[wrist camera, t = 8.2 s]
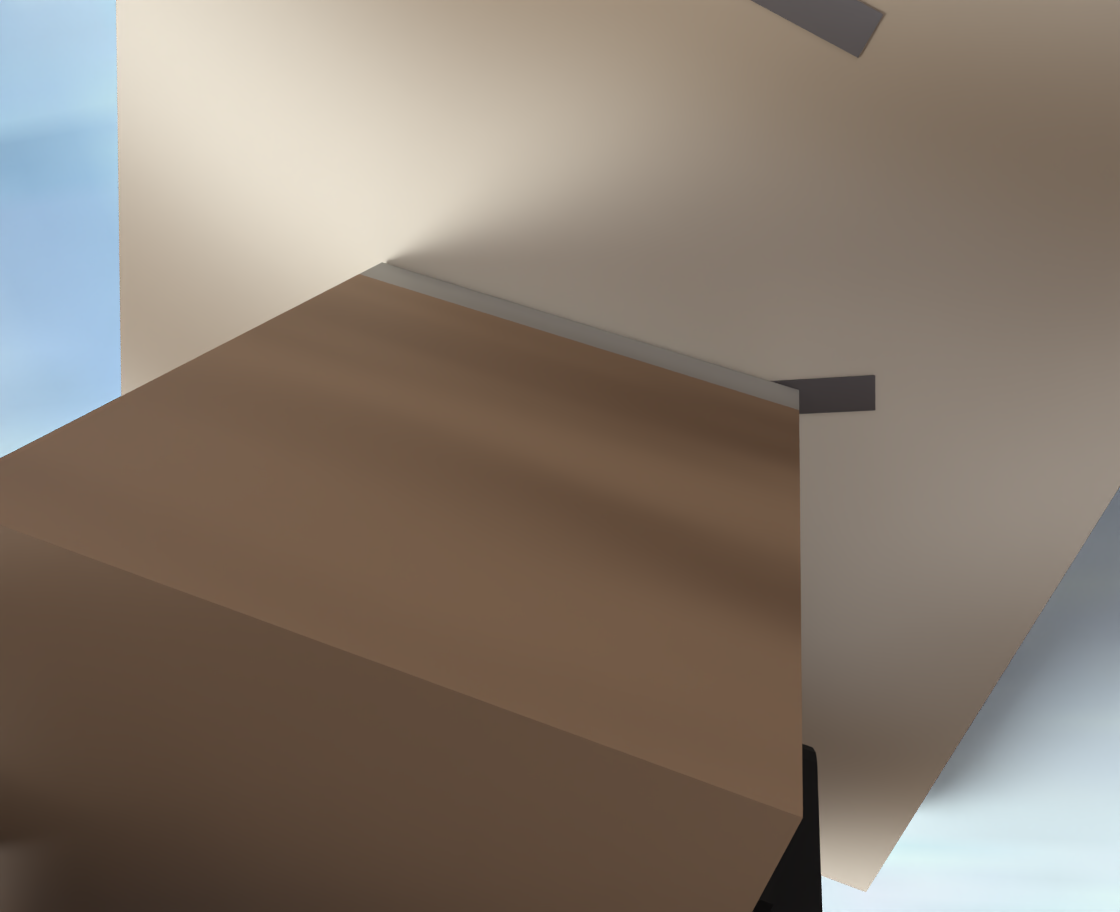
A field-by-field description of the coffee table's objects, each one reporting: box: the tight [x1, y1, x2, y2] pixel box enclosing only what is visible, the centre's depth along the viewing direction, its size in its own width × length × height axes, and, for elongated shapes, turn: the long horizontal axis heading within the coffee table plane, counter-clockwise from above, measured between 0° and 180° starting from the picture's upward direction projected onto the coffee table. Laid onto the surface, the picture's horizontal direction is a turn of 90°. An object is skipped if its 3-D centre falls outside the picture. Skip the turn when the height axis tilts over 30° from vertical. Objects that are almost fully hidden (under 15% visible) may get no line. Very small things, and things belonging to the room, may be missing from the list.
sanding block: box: [0, 262, 803, 912], centre depth 9 cm, size 8×5×6 cm, turn 167°
